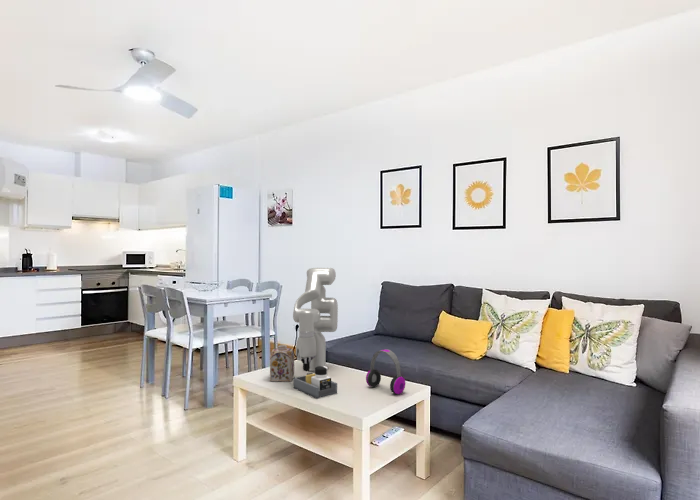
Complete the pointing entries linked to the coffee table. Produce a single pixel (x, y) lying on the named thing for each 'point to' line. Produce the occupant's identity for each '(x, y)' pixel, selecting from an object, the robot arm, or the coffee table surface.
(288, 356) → the decorative jar
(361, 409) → the coffee table surface
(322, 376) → the medicine bottle
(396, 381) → the headphones
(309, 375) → the pusher
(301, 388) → the gray tray
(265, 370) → the coffee table surface
